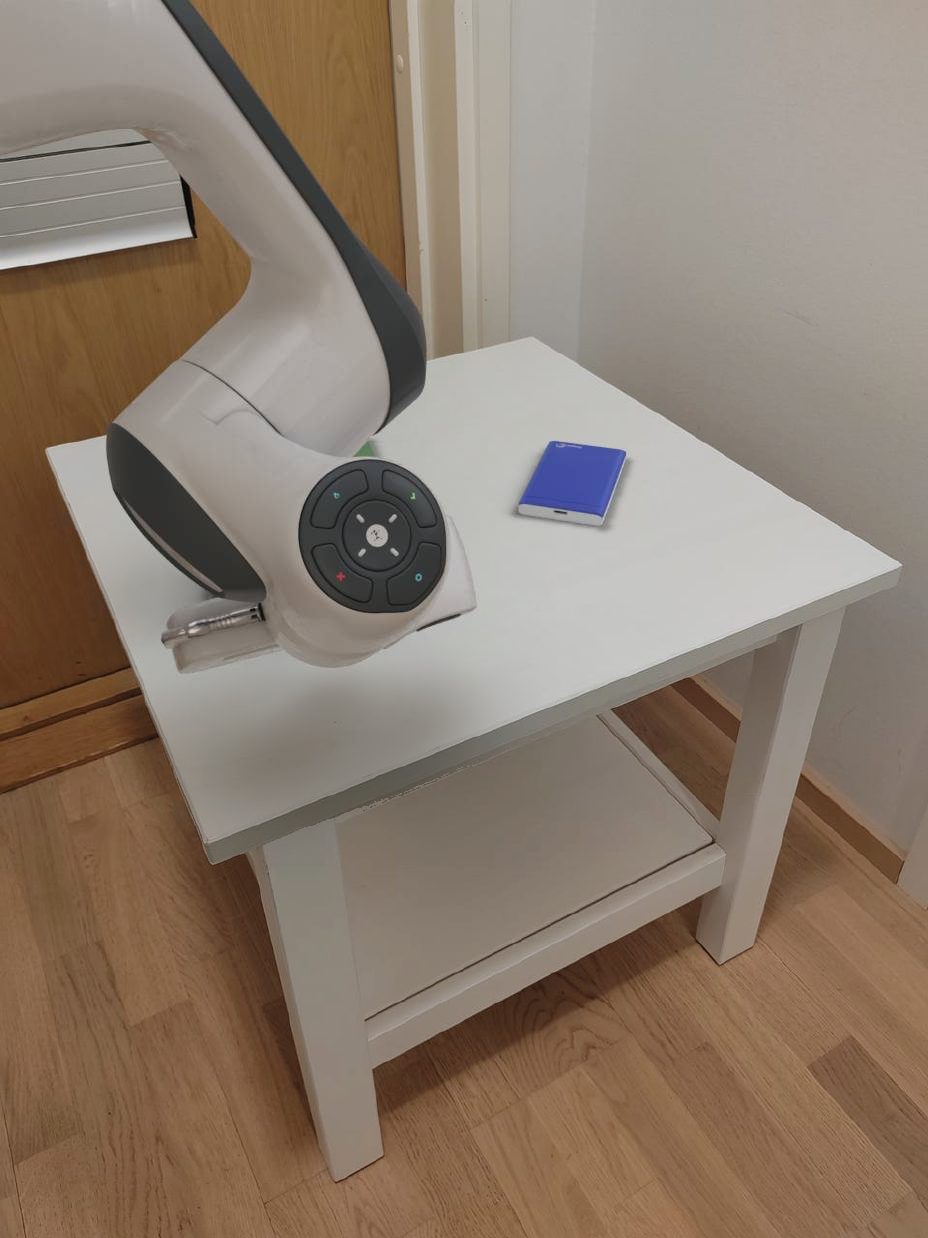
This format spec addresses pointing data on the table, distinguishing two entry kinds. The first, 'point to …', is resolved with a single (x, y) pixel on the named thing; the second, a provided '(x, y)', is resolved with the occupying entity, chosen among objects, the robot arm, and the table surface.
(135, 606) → the table surface
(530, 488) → the hard drive
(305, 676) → the table surface
